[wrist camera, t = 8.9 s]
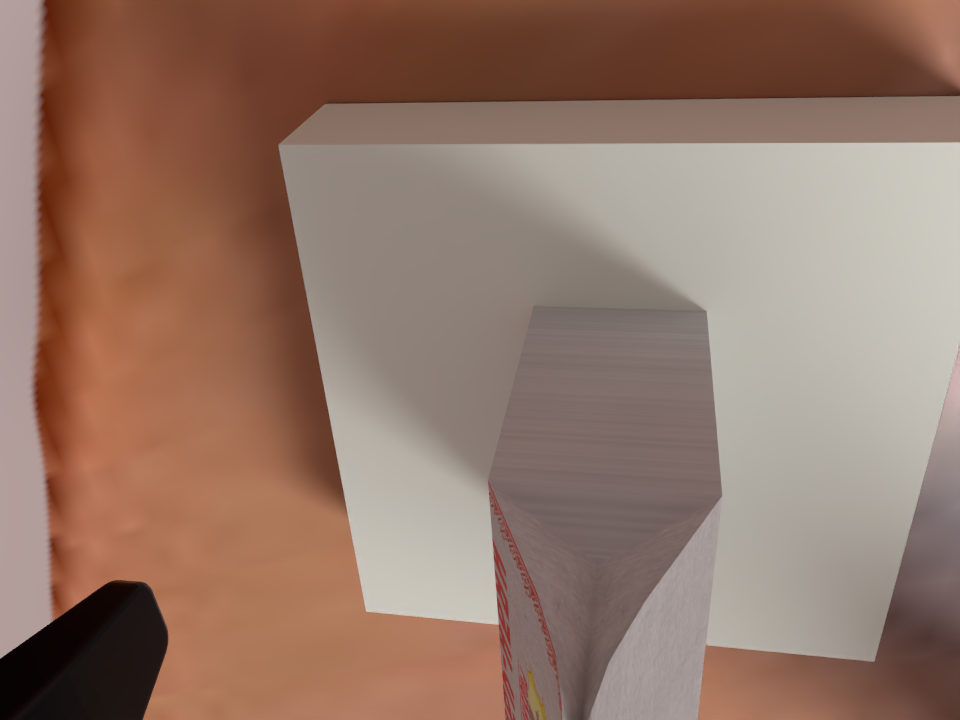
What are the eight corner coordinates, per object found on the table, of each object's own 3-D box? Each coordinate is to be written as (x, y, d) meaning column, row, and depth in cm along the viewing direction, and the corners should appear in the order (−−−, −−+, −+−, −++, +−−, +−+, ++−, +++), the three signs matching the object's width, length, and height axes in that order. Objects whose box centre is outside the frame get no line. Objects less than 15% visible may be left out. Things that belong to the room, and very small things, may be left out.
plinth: (853, 577, 25) (874, 661, 23) (392, 539, 28) (366, 611, 25) (965, 96, 18) (1014, 141, 15) (325, 103, 21) (277, 144, 18)
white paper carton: (706, 311, 18) (741, 728, 10) (686, 545, 22) (699, 996, 14) (533, 306, 19) (432, 692, 11) (541, 534, 23) (469, 957, 14)
